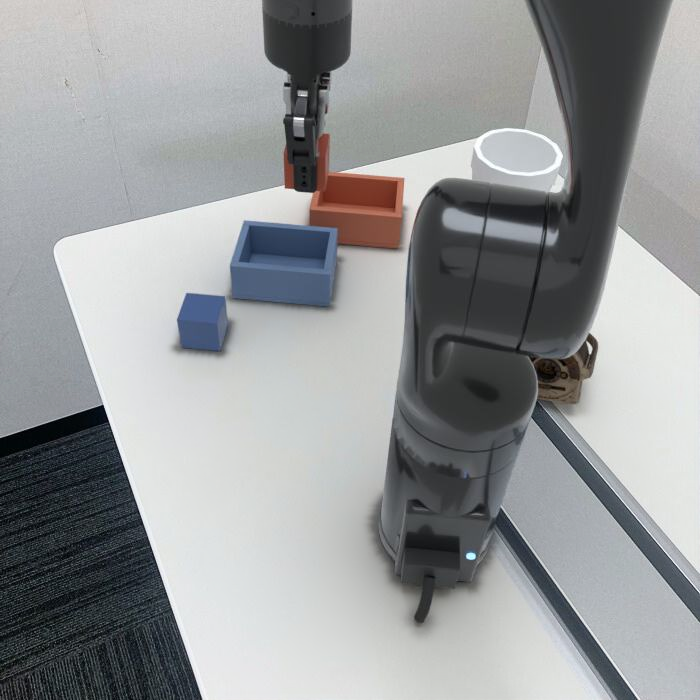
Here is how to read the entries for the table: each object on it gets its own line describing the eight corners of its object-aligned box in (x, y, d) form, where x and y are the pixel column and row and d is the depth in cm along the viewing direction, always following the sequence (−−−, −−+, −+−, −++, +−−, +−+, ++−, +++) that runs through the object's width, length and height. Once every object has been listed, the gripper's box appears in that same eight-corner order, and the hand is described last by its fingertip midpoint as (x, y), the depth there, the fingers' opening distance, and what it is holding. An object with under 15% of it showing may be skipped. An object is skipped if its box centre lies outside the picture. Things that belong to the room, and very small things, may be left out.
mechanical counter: (475, 334, 72) (567, 373, 66) (550, 264, 78) (641, 294, 72) (480, 387, 77) (567, 428, 71) (551, 317, 83) (637, 349, 77)
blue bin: (329, 306, 82) (330, 274, 79) (232, 298, 82) (229, 265, 79) (336, 259, 87) (337, 227, 84) (246, 252, 88) (243, 220, 84)
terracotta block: (325, 191, 74) (325, 156, 71) (284, 188, 74) (283, 153, 71) (329, 168, 77) (329, 133, 74) (290, 165, 77) (289, 130, 74)
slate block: (220, 351, 77) (216, 323, 74) (181, 347, 77) (176, 319, 74) (228, 324, 79) (225, 295, 77) (190, 320, 80) (186, 292, 77)
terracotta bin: (398, 248, 89) (401, 217, 86) (309, 241, 90) (309, 209, 86) (401, 209, 95) (404, 177, 91) (317, 202, 95) (317, 170, 92)
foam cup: (548, 241, 91) (575, 146, 82) (517, 282, 86) (543, 186, 76) (477, 214, 95) (496, 119, 85) (443, 252, 89) (459, 156, 80)
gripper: (345, 43, 58) (339, 223, 70) (358, -29, 67) (351, 141, 80) (247, 36, 58) (259, 217, 70) (275, -35, 68) (281, 136, 80)
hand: (308, 176), depth 75 cm, fingers closed on terracotta block, 4 cm apart
